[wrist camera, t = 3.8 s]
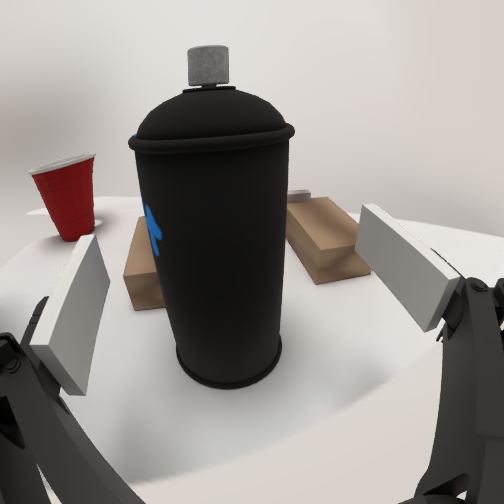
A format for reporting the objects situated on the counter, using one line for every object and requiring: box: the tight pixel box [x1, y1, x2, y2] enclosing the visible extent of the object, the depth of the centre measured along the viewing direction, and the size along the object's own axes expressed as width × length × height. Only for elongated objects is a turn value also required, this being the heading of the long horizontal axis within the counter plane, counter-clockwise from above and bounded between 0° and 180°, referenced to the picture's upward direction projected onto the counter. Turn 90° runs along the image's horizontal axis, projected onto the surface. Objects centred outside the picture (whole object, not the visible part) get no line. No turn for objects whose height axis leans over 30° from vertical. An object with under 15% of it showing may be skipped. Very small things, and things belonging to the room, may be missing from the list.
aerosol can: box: [128, 45, 295, 389], centre depth 16 cm, size 8×8×20 cm
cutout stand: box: [123, 190, 371, 311], centre depth 30 cm, size 24×12×5 cm, turn 103°
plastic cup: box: [29, 152, 96, 241], centre depth 36 cm, size 11×11×12 cm
